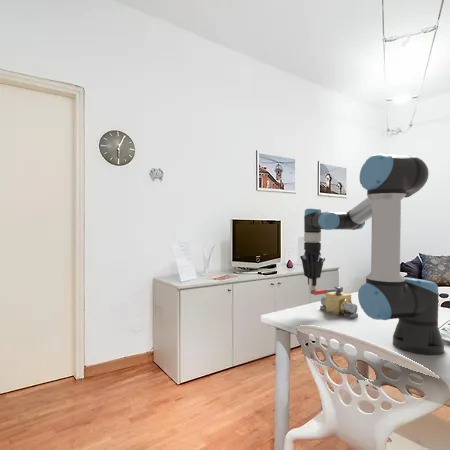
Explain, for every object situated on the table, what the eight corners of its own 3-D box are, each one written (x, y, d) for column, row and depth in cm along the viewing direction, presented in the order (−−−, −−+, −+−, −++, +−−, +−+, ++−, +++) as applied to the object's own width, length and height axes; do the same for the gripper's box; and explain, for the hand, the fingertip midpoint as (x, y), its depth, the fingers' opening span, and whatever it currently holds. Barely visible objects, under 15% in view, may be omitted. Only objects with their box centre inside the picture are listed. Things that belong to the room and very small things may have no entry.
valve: (347, 318, 144) (347, 296, 144) (317, 309, 160) (318, 288, 160) (360, 316, 148) (360, 294, 148) (329, 307, 164) (330, 287, 164)
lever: (338, 289, 157) (338, 286, 157) (344, 291, 153) (344, 287, 153) (309, 293, 148) (309, 289, 148) (316, 295, 145) (316, 291, 145)
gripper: (329, 242, 149) (328, 294, 149) (307, 240, 160) (306, 289, 160) (318, 242, 145) (318, 296, 145) (296, 241, 156) (295, 290, 156)
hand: (312, 292), depth 152 cm, fingers closed
